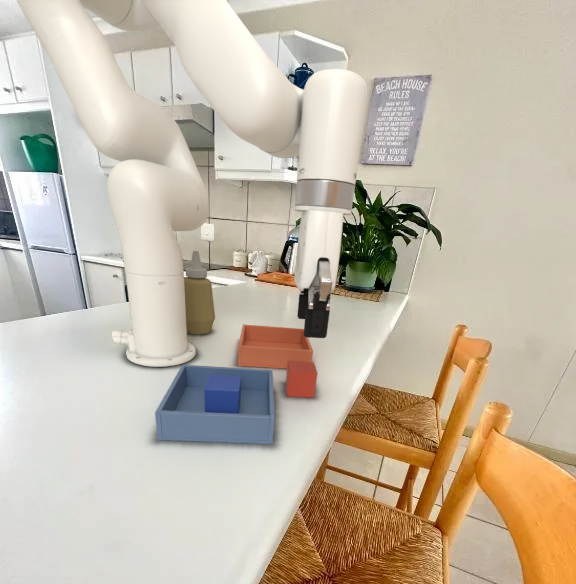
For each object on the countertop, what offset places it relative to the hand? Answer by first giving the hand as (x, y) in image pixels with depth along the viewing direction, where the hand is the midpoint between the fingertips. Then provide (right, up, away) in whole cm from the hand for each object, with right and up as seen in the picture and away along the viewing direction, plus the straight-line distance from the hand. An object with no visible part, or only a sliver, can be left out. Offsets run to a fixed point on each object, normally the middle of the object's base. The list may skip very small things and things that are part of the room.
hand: (310, 327), depth 50 cm
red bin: (-7, -2, +19) cm, 20 cm away
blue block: (-13, -13, -4) cm, 18 cm away
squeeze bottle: (-25, +4, +28) cm, 38 cm away
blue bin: (-13, -13, -3) cm, 19 cm away
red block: (-2, -10, +5) cm, 11 cm away
